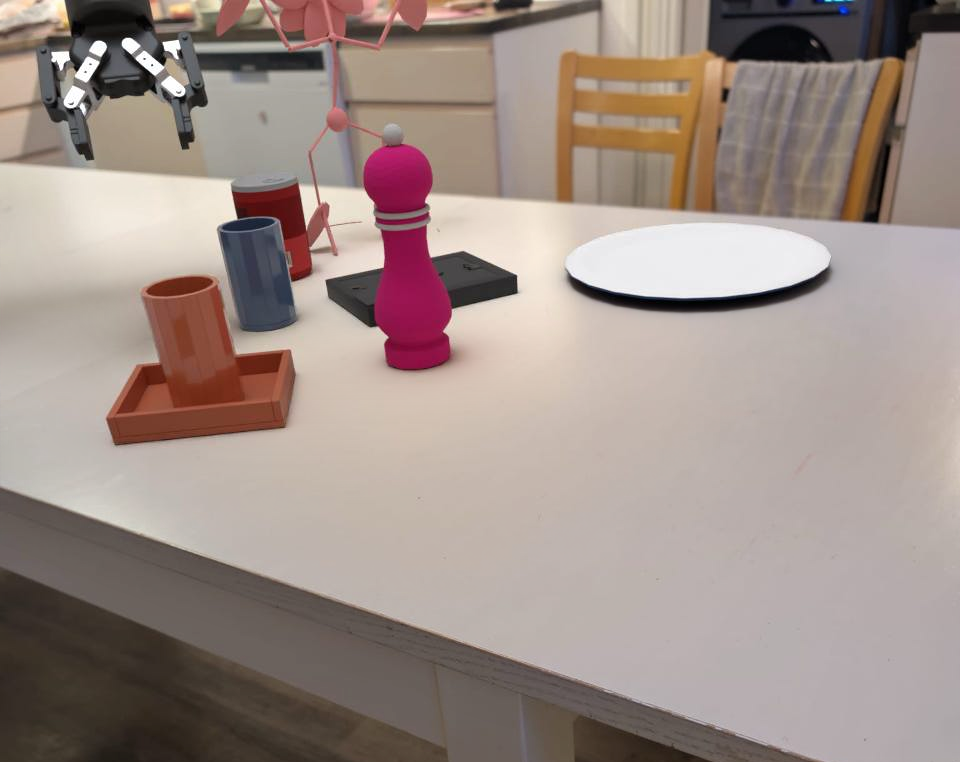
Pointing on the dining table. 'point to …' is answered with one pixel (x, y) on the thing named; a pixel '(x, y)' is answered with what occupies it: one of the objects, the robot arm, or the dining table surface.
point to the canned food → (277, 212)
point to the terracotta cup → (193, 340)
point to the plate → (698, 261)
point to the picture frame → (457, 271)
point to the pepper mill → (406, 256)
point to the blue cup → (258, 273)
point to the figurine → (318, 10)
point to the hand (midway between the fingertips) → (136, 149)
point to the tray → (153, 417)
